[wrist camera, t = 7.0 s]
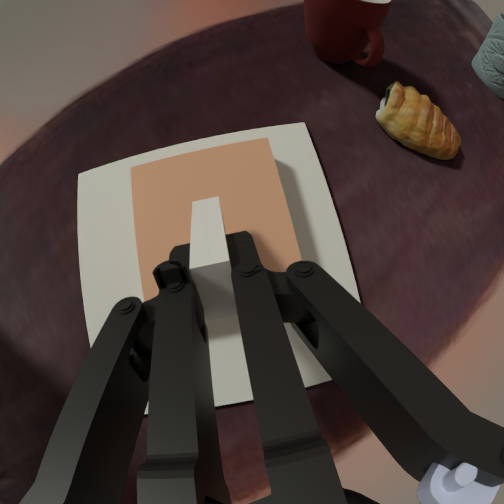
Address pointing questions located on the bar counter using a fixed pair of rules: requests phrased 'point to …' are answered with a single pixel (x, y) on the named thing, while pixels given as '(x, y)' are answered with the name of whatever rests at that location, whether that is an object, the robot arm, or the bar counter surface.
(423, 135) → the pastry
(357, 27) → the mug
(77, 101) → the bar counter surface
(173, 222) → the tile
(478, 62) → the green ceramic cup
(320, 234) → the mat
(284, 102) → the bar counter surface
